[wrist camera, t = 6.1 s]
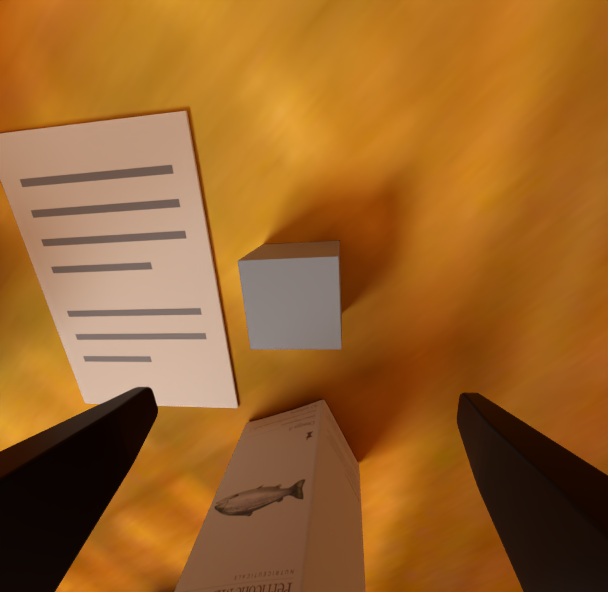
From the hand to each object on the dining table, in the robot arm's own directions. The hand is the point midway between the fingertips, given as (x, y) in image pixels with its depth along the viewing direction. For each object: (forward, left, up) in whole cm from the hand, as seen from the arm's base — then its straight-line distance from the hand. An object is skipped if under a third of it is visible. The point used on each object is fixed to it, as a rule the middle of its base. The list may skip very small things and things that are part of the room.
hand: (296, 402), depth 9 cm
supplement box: (-2, -14, -12) cm, 18 cm away
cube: (-1, 0, -12) cm, 12 cm away
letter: (-14, 0, -12) cm, 19 cm away
